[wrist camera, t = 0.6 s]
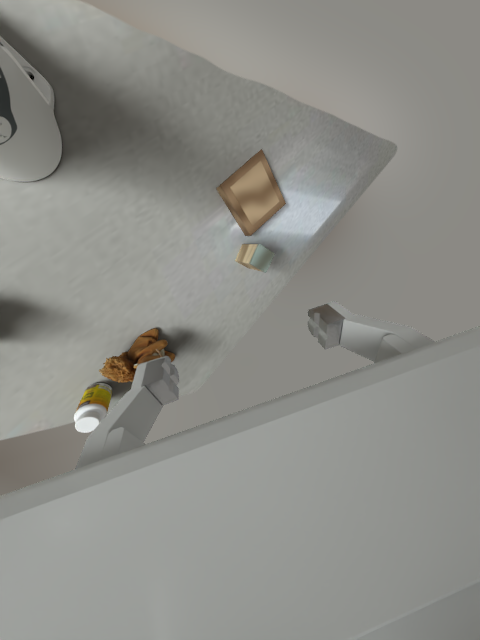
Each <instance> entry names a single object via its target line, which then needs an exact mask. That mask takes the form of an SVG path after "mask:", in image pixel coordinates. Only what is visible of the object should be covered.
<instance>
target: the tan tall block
mask: <svg viewBox="0 0 480 640" xmlns="http://www.w3.org/2000/svg"><path fill="white" fill-rule="evenodd" d="M274 255H275V254H274V253H273V252H271V251H270V250H268V249H267V248H265V247H264V246H262V245H261V244H242V246H241V248H240V251H239V253H238V255H237V257H236V260H235V261H236V262H238V263H240V264H242V265H244V266H245V267H247V268H250V269H254V270H258V271H262V272H265V273H266V272H267V270H268V268H269V265H270V263H271V261H272V259H273V257H274Z"/></svg>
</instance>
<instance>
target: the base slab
mask: <svg viewBox="0 0 480 640" xmlns="http://www.w3.org/2000/svg"><path fill="white" fill-rule="evenodd" d="M216 189H217V191H218V192H219V194H220V196H221V197H222V199H223V200H224V202H225V204H226V205H227V207H228V208H229V210H230V212H231V213H232V215H233V217H234V218H235V220H236V221H237V223H238V225H239V226H240V228H241V229H242V231H243V233H244V234H245V236H251V235H252V234H253V233H254V232H255V231H256V230H258V229H259V228H260V227H261V226H262V225H263V224H264V223H265V222H266V221H267V220H268V219H270V218H271V217H272V216H273V215H274V214H275V213H276V212H277V211H278V210H279V209H281V208H282V207H283V206H284V205H285V204H286V203H285V200H284V198H283V196H282V194H281V191H280V189H279V187H278V185H277V182H276V180H275V178H274V176H273V173H272V171H271V169H270V167H269V164H268V162H267V160H266V158H265V155H264V153H263V151H262V149H261V150H260V151H259V152H258V153H256V154H255V155H254V156H253V157H252V158H251V159H250V160H248V161H247V162H246V163H245V164H244V165H243V166H242V167H240V168H239V169H238V170H237V171H236V172H235V173H233V174H232V175H231V176H230V177H229V178H228V179H227V180H225V181H224V182H223V183H222V184H221V185H220V186H219V187H217V188H216Z"/></svg>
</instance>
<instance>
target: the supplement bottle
mask: <svg viewBox="0 0 480 640" xmlns="http://www.w3.org/2000/svg"><path fill="white" fill-rule="evenodd" d="M111 395H112V388H111V387H110V386H109V385H108V384H105V383H95V384H93V385H91V386H89V387H88V388H87V389H86V391H85V393H84V395H83V397H82V399H81V401H80V404H79V406H78V408H77V410H76V412H75V415H74V420H75V422H76V424H75V428H76V430H77V431H79V432H90V431H93V430H95V428H96V427H97V426H98V425H99V424H100V422H102V420H103V419H104V418H105V417H106V415H107V411H108V407H109V403H110V399H111Z"/></svg>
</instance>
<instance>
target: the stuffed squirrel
mask: <svg viewBox="0 0 480 640" xmlns="http://www.w3.org/2000/svg"><path fill="white" fill-rule="evenodd" d="M157 340H158V329H156V328H154V329H151V330H149V331H147V332H145V333H143V334H142V335H140V336H139V337H138V338H137V339H136V341H135V342H134V344H133V345H132V346H131V348H130V350H129V351H128V352H124V353H122V355H120V356H119V357H116V356H115V357H114V356H113V357H112V358H109V359H107V358H106V360H107V361H106V362H105V363H103V364H105V366H104V368H102V370H101V369H99V372H100V371H101V373H102V376H104V377H107V378H108V379H111V380H113V381H116V382H117V381H118V383H119V382H122V383H124V382H128V381H130V382H132V381H133V380H134V376H135V372H136V369H137V366H138V365H139V364H141V363H144V362H148V361H150V360H154V359H157V358H160V357H164V356H169V358H170V359H171V362H172V361H173V360H174V358H175V354H173V353H170V352H168V351H165V350H164V348H165V347H166V346H167V344H168V343H167V341H166V340H159V341H157Z"/></svg>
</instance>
